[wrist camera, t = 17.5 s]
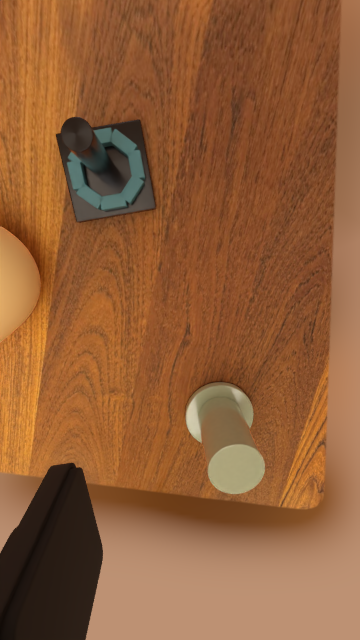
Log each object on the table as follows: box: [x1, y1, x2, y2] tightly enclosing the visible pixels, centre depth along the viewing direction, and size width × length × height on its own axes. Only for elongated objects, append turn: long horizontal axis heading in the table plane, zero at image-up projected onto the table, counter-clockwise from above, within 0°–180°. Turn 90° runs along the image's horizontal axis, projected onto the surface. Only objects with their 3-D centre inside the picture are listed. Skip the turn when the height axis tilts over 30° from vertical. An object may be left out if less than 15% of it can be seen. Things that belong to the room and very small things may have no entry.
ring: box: [67, 128, 145, 211], centre depth 30 cm, size 7×7×1 cm
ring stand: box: [185, 382, 265, 494], centre depth 34 cm, size 8×8×10 cm
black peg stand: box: [56, 117, 156, 223], centre depth 26 cm, size 8×8×12 cm
